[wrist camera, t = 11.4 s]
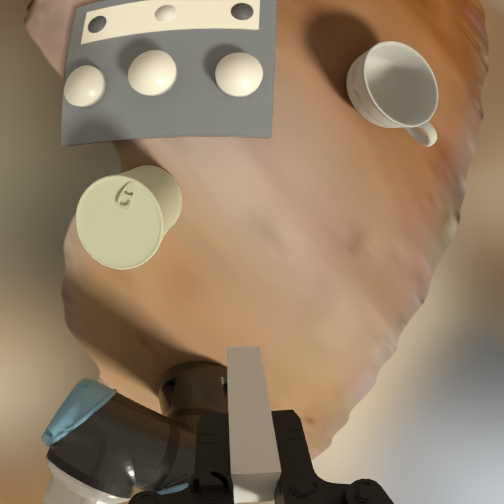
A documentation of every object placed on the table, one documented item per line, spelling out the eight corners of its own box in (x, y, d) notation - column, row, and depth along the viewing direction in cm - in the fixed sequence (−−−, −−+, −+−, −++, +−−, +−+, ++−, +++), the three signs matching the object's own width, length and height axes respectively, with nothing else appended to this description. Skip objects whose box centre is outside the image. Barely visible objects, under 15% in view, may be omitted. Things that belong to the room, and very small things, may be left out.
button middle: (176, 95, 28) (173, 92, 26) (132, 98, 27) (126, 96, 25) (179, 53, 26) (176, 48, 24) (135, 57, 26) (130, 52, 24)
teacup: (323, 67, 32) (346, 51, 24) (386, 47, 31) (416, 33, 23) (368, 161, 37) (399, 167, 29) (425, 134, 36) (460, 136, 28)
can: (194, 182, 36) (179, 200, 25) (165, 246, 39) (143, 287, 27) (130, 154, 34) (89, 159, 23) (105, 218, 36) (63, 248, 25)
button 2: (105, 104, 29) (98, 102, 27) (70, 109, 28) (62, 108, 26) (108, 65, 27) (102, 61, 25) (73, 72, 26) (66, 69, 24)
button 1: (260, 98, 30) (262, 95, 28) (214, 97, 30) (214, 94, 28) (261, 58, 28) (263, 53, 27) (217, 57, 28) (216, 52, 26)
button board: (268, 138, 35) (271, 137, 32) (71, 145, 32) (59, 146, 29) (273, 0, 28) (277, -11, 25) (85, 14, 26) (75, 6, 23)
